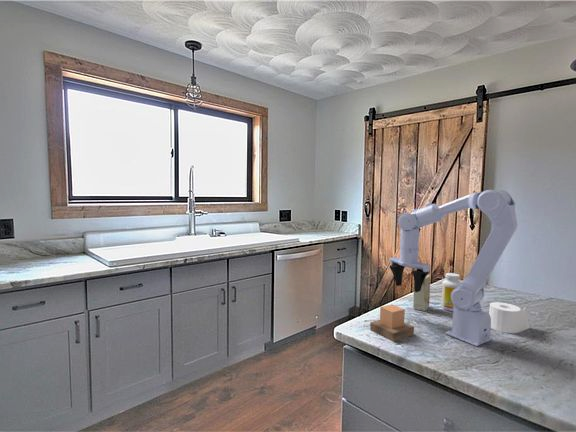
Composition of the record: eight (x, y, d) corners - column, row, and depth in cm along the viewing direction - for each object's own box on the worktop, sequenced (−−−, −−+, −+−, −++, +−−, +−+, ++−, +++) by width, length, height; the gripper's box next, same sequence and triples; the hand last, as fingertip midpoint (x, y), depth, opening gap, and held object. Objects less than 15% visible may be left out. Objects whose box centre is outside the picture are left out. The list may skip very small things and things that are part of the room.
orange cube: (404, 325, 98) (404, 309, 98) (391, 328, 96) (392, 312, 96) (391, 319, 103) (392, 304, 102) (379, 322, 100) (380, 306, 100)
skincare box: (425, 311, 116) (426, 278, 116) (412, 309, 119) (413, 276, 118) (429, 306, 122) (431, 274, 121) (417, 304, 124) (418, 272, 123)
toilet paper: (529, 328, 103) (531, 306, 103) (510, 335, 98) (512, 313, 97) (502, 319, 110) (503, 299, 110) (483, 325, 105) (484, 304, 104)
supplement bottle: (464, 312, 116) (466, 276, 115) (446, 311, 117) (447, 276, 116) (455, 305, 123) (457, 272, 122) (438, 305, 123) (439, 272, 122)
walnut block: (413, 336, 98) (414, 326, 98) (393, 343, 93) (393, 333, 93) (390, 325, 105) (390, 316, 105) (370, 331, 101) (370, 322, 101)
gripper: (384, 246, 113) (382, 284, 114) (420, 253, 100) (418, 296, 101) (398, 244, 116) (396, 281, 117) (434, 251, 104) (432, 292, 105)
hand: (407, 288), depth 109 cm, fingers open, 7 cm apart
